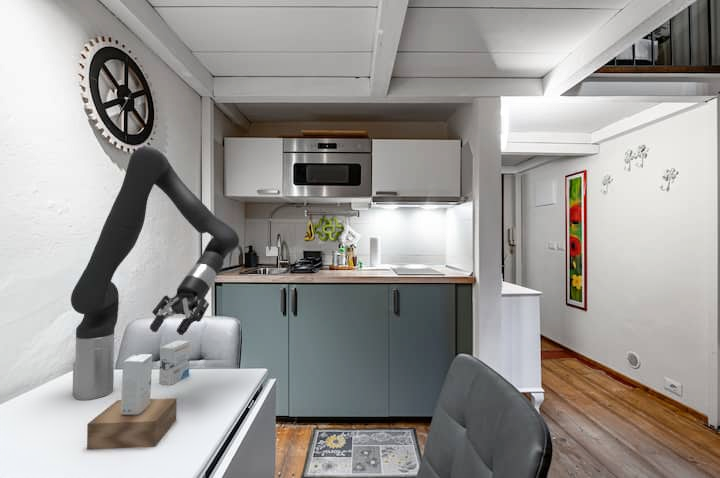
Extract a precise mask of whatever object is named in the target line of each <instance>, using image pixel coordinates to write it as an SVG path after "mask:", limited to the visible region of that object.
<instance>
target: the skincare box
mask: <svg viewBox="0 0 720 478" xmlns="http://www.w3.org/2000/svg"><path fill="white" fill-rule="evenodd" d="M152 370H153V354H150V353H149V354H148V353H143V354H142V353H141V354H140V353H139V354H138V353H137V354H133V355H132V356H129V357H128V358H127V359H125V360H124V361H123V363H122V380H121V381H122V382H121V394H120V398H121V399H120V400H121V410H120V414H122V415H138V414H140V413H141V412H142V411H144V410H145V409H146V408H147V407H148V406H149V404H150V399H151V394H152V391H151V389H152V376H153V375H152Z"/></svg>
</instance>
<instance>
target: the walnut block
mask: <svg viewBox="0 0 720 478" xmlns="http://www.w3.org/2000/svg"><path fill="white" fill-rule="evenodd" d="M177 400H178V399H177V398H176V397H174V398H173V397H172V398H171V397H170V398H169V397H168V398H150V404H149V406H148V407H147V408H146V409H145V410H144V411H142V412H141V413H140V414H138V415H122V414H120V410H121V399H117V400H116V401H114V403H112V404H111V405H109V406H108V407H107V408H106V409H104V410H103V411H102V412H100V413H99V414H98V415H97V416H95V417H94V418H93V419H92V420H90V421H89V422H87V426H86V427H87V430H86V433H87V435H86V436H87V437H86V450H87V451H88V450H107V449H109V450H110V449H111V450H112V449H131V448H132V449H133V448H134V449H135V448H153V447H154V448H155V447H156V446H158V444H159V442H160V441H161V440H162V439H163V437H165V435H166V434H167V432H168V431H169V430H170V429H171V427H172V426H173V425H174V424H175V423H176V421H177V406H178V405H177V403H178V402H177Z"/></svg>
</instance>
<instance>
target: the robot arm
mask: <svg viewBox="0 0 720 478" xmlns="http://www.w3.org/2000/svg"><path fill="white" fill-rule="evenodd" d="M154 185H155V186H156V187H157V188H158V189H160V190H161V191H162V192H163V193H164V194H166V195H167V197H168V198H169V199H170V201H171V202H172V203H173V205H174V206H175V207H176V208H177V210H178V211H179V212H180V214H181V216H182V217H183V218H184V219H185V220H186V221H187V222H188V223H189V224H190V225H191V226H192V227H193V228H194V229H195V230H196V231H197V232H198V233H199V234H206V233H207V234H208V235H210V236H211V239H210V240H209V241H208V243H207V245H205V249H204V250H203V253H202V254H201V256H200V257H199V258H198V260H197V261H196V263H194V265H193V267H192V268H191V269H190V270H189V271H188V273H187V274H186V275H185V277H184V278H183V280H181V283H180V284H179V285H178V287H177V289H176V294H175V295H174V296H173V297H170V296H168V295H167V294H166V295H164V296H163V298H162V299H161V300H160V301H159V303H158V304H157V305H156V306H155V307H154V308H153V310H152V314H153V315H154V316H155V318H154V319H153V320H152V322H151V324H150V326H149V330H151V331H152V332H153V333H157V332H158V331H159V329H160V328H161V327H162V324H163V323H164V322H165V320H167V319H168V318H169V317H173V316H174V315H183V316H184V315H185V318H183V319H182V321H181V322H180V324H179V325H178V327H177V329H176V333H177V334H178V335H180V336H183V335H185V333H186V332H187V331H188V330H189V327H190V326H191V325H192V324H193V323H195V322H197V323H198V322H200V321H201V320H202V319H203V317H204V315H205V313H206V311H207V309H208V307H209V306H210V303H209V302H208V300H207V299H206V296H207V295H208V292H209V291H210V290H211V288H212V287H213V285H214V283H215V281H216V279H217V276H218V274H219V273H220V272H221V271H222V268H223V266H224V261H225V259H226V257H228V255H229V254H230V253H231V252H232V251H234V250H235V249H236V248H237V247H238V246H239V244H240V238H239V235H238V233H237V232H236V230H235V229H233V228H232V227H231V226H230V225H228V224H227V223H225V222H224V221H223V220H221V219H219V218H217V217H216V216H215V214H214V213H212V211H211V210H209V208H208V207H207V206H206V205H205V204H204V203H203V202H202V200H200V199H199V198H198V197H197V195H196V194H194V193H193V192H192V191H191V190H190V189H189V187H187V185H186V184H185V183H184V181H182V179H181V178H180V177H179V175H178V174H177V172H176V171H175V170H174V168H173V166H172V165H171V163H170V162H169V160H168V158H167V156H166V155H164V153H162V152H161V151H159V149H158V148H157V149H156V148H154V147H152V146H148V145H146V146H140V147H139V148H137V149H136V150H134V151H133V152H132V154H131V155H130V158H129V160H128V164H127V168H126V172H125V175H124V178H123V182H122V185H121V187H120V190H119V192H118V194H117V196H116V197H115V200H114V202H113V204H112V206H111V209H110V211H109V213H108V216H107V217H106V218H105V219H106V220H105V222H104V224H103V227H102V229H101V231H100V234H99V237H98V238H97V242H96V243H95V246H94V248H93V251H92V253H91V256H90V259H89V260H88V263H87V265H86V266H85V269H84V270H83V272H82V274H81V276H80V277H79V279H78V281H77V282H76V284H75V286H74V288H73V290H72V292H71V295H70V303H71V307H72V308H73V310H74V311H75V312H76V313H79V314H81V315H83V318H82V320H81V322H80V323H79V324H78V325H77V327H76V328H75V361H74V362H73V363H72V396H73V397H74V398H75V399H76V400H79V401H82V400H83V401H85V400H93V399H99V398H102V397H105V396H108V395H109V394H111V393H112V392H113V391H114V379H115V377H114V374H115V369H114V368H115V367H114V366H115V328H116V325H117V322H118V317H119V305H120V304H119V301H120V300H119V299H120V297H119V290H118V288H117V285H115V283H114V282H112V280H113V277H114V275H115V272H116V271H117V269H118V268H119V266H120V265H121V264H122V262H123V261H124V260H125V259H126V258H127V256H128V255H129V254H130V252H132V250H133V248H134V247H135V246H136V243H137V242H138V240H139V236H140V235H141V233H142V230H143V227H144V223H145V219H146V215H147V206H148V199H149V196H150V194H151V192H152V190H153V187H154ZM170 309H171V310H170Z"/></svg>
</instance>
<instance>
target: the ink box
mask: <svg viewBox="0 0 720 478" xmlns="http://www.w3.org/2000/svg"><path fill="white" fill-rule="evenodd" d="M159 351H160V352H159V353H160V354H159V377H158V378H159V379H158V380H159V381H158V384H161V385H166V384H170V385H169V386H173V385H175V384H176V383H178V382H180V381H181V379H182V380H183V378H184V379H186V378H187V377H189V376H190V352H191V341H190V340H175V341H173V342H170V343H168V344H166V345H163V346H160V349H159ZM185 377H186V378H185ZM179 380H180V381H179ZM174 383H175V384H174ZM172 384H173V385H172Z"/></svg>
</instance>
